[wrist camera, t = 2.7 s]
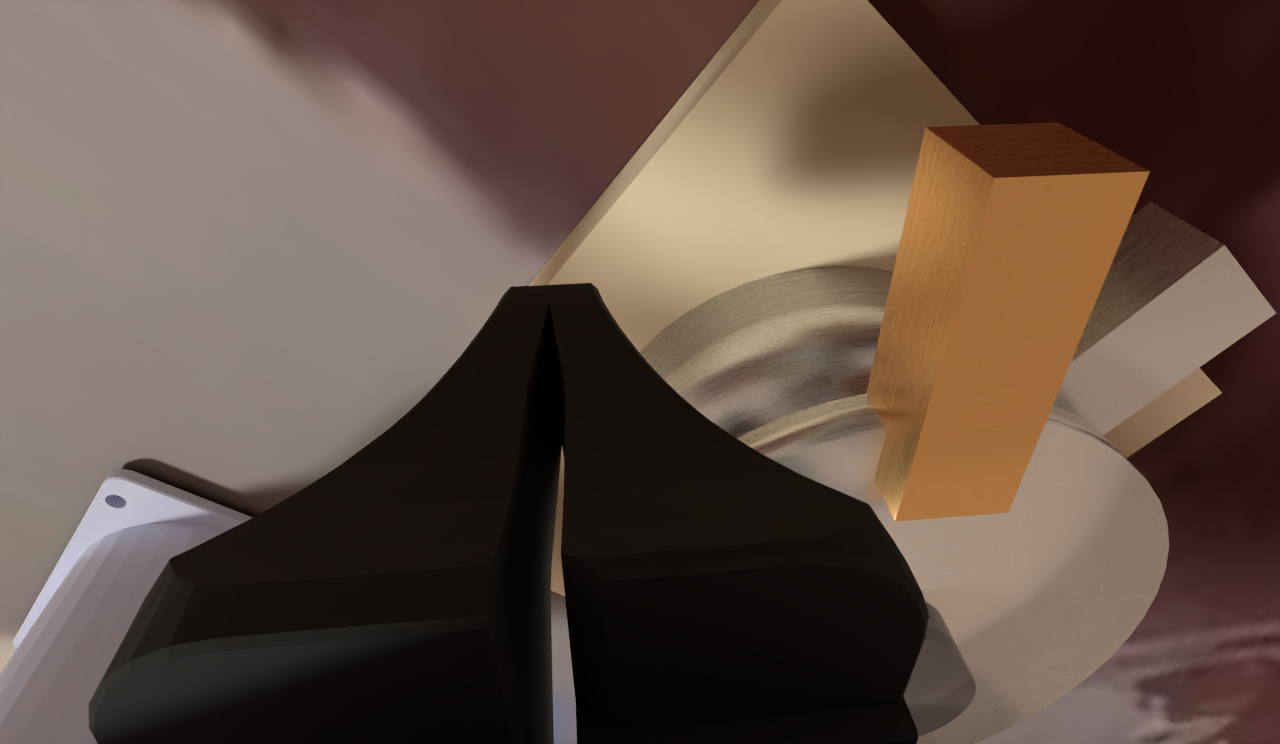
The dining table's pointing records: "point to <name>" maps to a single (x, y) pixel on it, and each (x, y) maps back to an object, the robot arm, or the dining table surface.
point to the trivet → (780, 182)
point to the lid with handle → (996, 428)
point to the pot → (855, 304)
